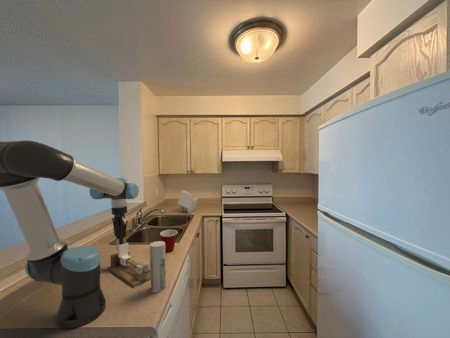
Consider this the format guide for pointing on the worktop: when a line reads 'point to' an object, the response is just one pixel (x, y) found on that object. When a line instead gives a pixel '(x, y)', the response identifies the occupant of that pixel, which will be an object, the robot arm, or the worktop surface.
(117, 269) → the board
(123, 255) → the white l-shaped block
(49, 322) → the worktop surface
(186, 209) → the tissue box
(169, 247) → the plastic cup
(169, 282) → the worktop surface
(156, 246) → the spray can
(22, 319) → the worktop surface
